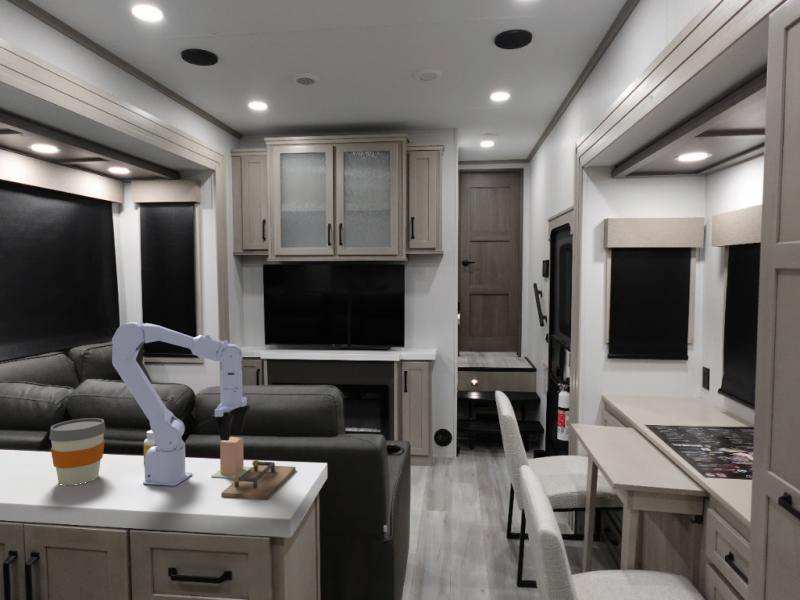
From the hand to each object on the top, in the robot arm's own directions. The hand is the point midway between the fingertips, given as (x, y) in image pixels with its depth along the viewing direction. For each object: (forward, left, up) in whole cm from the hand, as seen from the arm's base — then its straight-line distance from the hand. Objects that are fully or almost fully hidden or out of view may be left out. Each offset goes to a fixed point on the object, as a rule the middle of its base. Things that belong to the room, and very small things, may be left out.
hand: (231, 435), depth 132 cm
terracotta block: (0, 0, -10) cm, 10 cm away
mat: (0, 0, -10) cm, 10 cm away
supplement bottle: (-26, +3, -11) cm, 28 cm away
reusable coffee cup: (-39, -10, -11) cm, 42 cm away
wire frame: (+11, -5, -10) cm, 16 cm away
